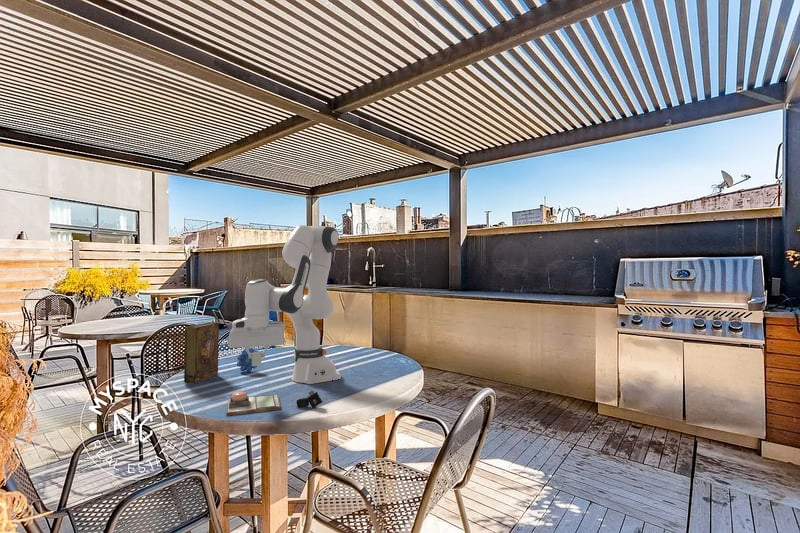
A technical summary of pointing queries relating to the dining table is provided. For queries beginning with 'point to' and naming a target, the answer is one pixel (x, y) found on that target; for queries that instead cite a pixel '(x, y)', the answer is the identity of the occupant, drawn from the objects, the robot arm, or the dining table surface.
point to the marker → (256, 359)
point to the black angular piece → (309, 400)
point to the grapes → (245, 361)
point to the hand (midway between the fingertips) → (256, 357)
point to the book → (201, 352)
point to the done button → (239, 396)
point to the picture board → (253, 405)
